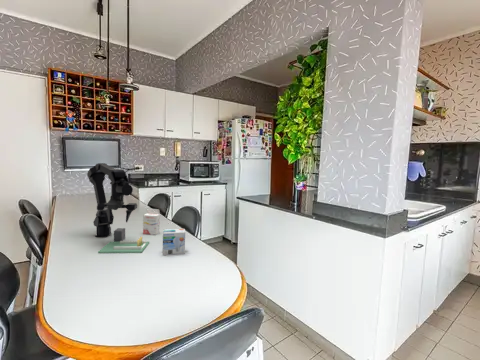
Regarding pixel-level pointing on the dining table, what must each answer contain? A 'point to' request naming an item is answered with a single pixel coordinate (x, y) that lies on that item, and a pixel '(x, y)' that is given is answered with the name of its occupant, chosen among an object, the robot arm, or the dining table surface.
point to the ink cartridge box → (151, 222)
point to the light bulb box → (173, 241)
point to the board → (125, 247)
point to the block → (119, 234)
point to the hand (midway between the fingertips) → (117, 222)
